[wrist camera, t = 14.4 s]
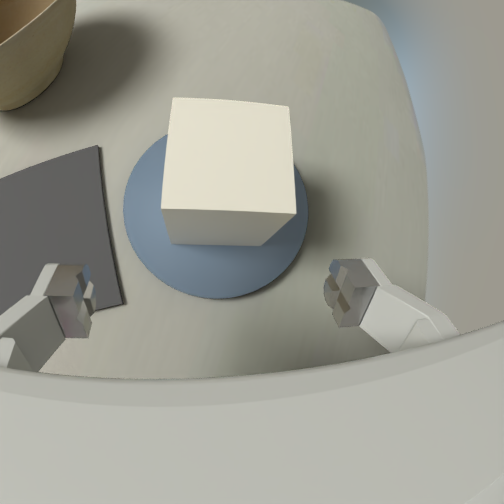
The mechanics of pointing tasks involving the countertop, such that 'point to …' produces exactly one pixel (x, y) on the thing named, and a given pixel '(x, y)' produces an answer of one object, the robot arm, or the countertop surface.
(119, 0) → the countertop surface
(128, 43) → the countertop surface
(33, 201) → the mat
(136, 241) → the plate
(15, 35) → the planter bowl
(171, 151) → the white rectangular block
